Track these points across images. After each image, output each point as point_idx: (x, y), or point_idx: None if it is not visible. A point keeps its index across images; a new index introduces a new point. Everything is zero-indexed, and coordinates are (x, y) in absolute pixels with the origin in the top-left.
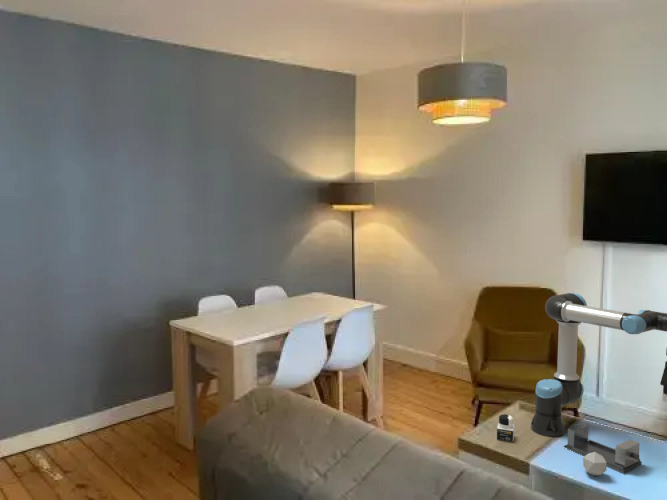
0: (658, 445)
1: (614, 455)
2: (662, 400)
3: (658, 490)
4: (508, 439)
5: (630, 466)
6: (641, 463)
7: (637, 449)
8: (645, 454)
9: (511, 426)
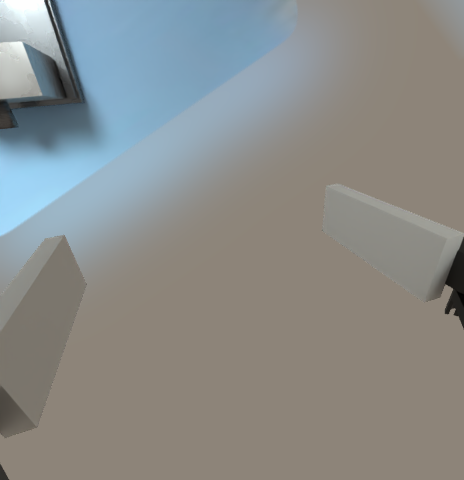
0: (267, 41)
1: (4, 1)
2: (43, 241)
3: (3, 226)
4: None
5: None
6: (82, 102)
7: (34, 98)
8: (166, 58)
9: None
